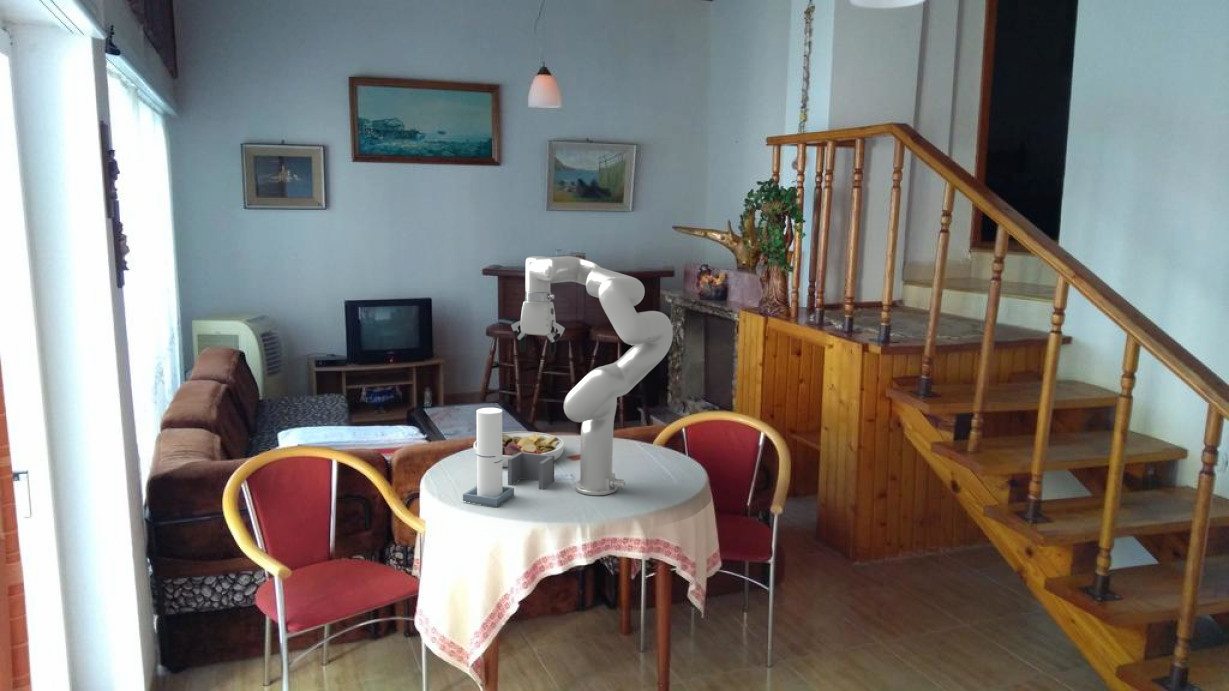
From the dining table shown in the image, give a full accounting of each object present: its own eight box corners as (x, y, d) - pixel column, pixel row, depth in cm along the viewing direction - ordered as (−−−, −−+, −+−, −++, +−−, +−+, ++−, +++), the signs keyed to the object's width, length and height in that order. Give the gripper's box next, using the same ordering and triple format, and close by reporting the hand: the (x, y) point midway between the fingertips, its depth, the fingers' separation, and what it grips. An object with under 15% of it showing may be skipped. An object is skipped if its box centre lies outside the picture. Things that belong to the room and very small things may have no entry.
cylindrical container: (474, 493, 240) (474, 408, 236) (499, 491, 243) (499, 407, 239) (479, 501, 233) (479, 414, 229) (505, 499, 236) (504, 412, 232)
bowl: (482, 444, 295) (482, 422, 293) (567, 446, 294) (567, 424, 293) (465, 470, 265) (465, 446, 264) (559, 472, 264) (560, 448, 263)
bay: (554, 481, 255) (554, 455, 253) (542, 489, 247) (542, 463, 246) (520, 476, 258) (520, 451, 257) (507, 484, 251) (507, 459, 249)
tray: (514, 495, 241) (514, 487, 241) (496, 507, 231) (496, 499, 231) (481, 490, 245) (481, 483, 244) (463, 502, 235) (462, 494, 234)
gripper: (569, 297, 253) (568, 353, 256) (517, 294, 259) (517, 349, 261) (559, 300, 246) (558, 357, 249) (506, 297, 252) (506, 353, 254)
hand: (537, 353), depth 255 cm, fingers open, 9 cm apart
